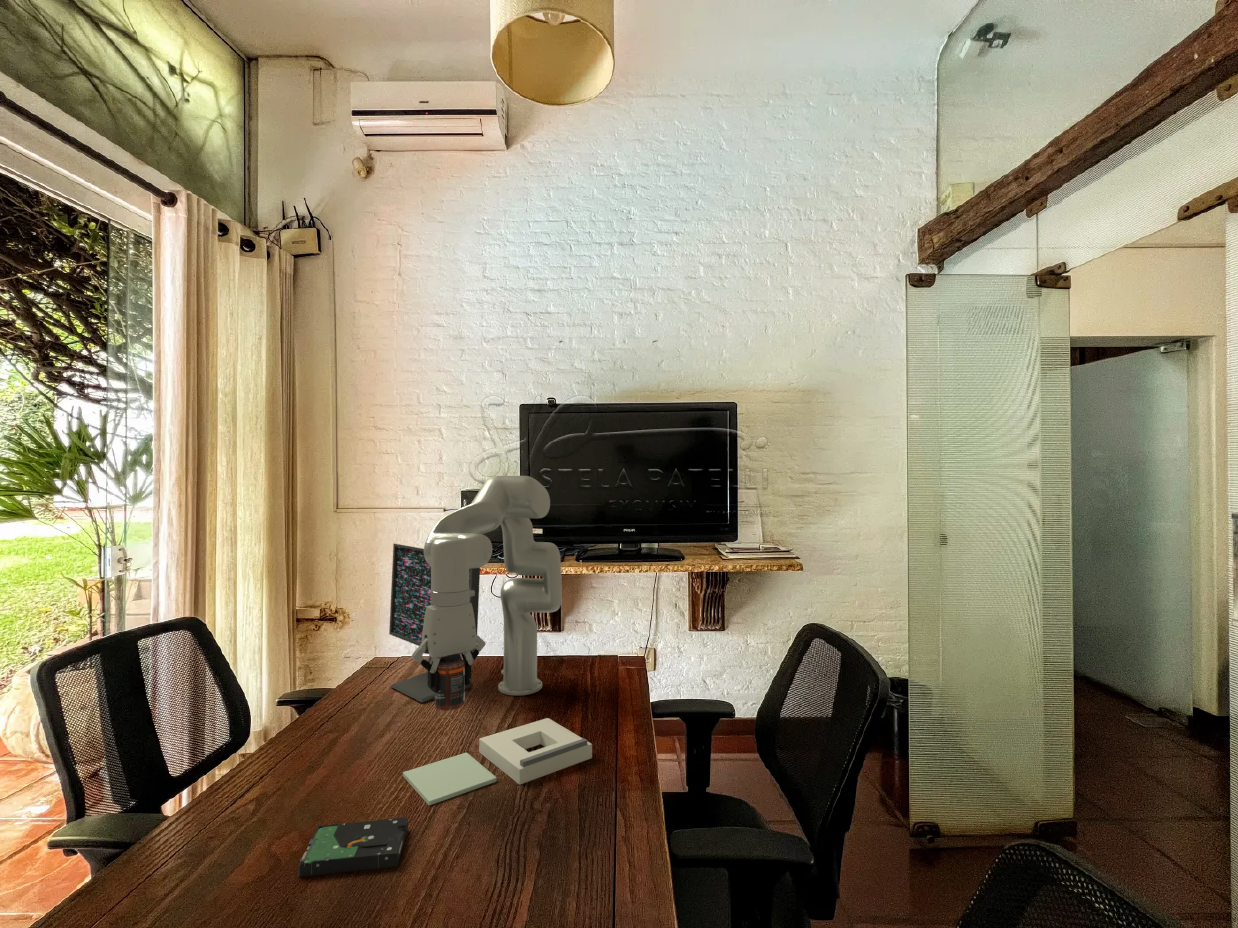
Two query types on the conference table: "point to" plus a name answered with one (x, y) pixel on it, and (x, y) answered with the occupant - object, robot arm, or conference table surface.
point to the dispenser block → (528, 766)
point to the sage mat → (448, 778)
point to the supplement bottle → (450, 683)
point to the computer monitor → (417, 608)
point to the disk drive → (354, 847)
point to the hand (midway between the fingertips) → (449, 685)
